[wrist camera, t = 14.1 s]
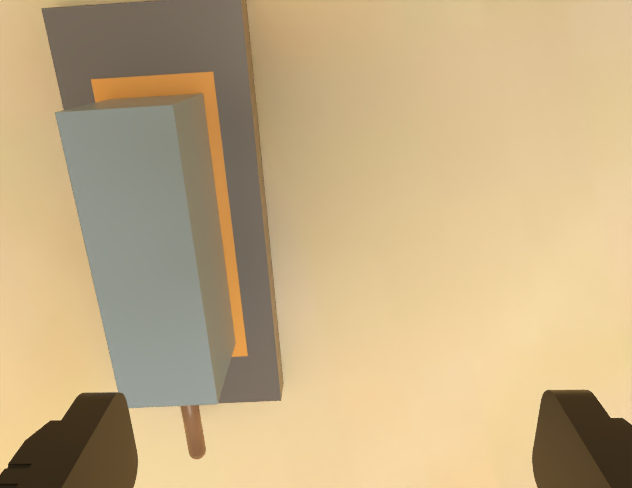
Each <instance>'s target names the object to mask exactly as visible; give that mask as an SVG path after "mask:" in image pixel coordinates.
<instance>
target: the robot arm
mask: <svg viewBox="0 0 632 488" xmlns="http://www.w3.org/2000/svg"><path fill="white" fill-rule="evenodd" d="M532 464H533V472H534V477H535V481H536V484H537V487H538V488H632V425H631V424H630V423H629V422H627V421H626V420H624V419H623V418H610V416H609V415H608V414H607V412H606V411H605V409H604V408H603V407H602V405H601V404H600V402H599V401H598V400H597V398H596V397H595V396H594V394H593V393H592V392H591V391H589V390H547V391H545V392H544V393H543V396H542V399H541V404H540V410H539V417H538V423H537V429H536V435H535V441H534V447H533V454H532ZM137 467H138V456H137V449H136V444H135V439H134V434H133V429H132V424H131V420H130V415H129V410H128V405H127V400H126V398H125V396H124V394H123V393H120V392H118V393H81V394H80V395H79V396H78V397H77V398H76V399H75V401H74V402H73V404H72V405H71V407H70V408H69V410H68V411H67V412H66V414H65V415H64V417H63V418H62V420H60V421H49V422H48V423H47V424H46V425H44V426H43V427H42V428H41V429H39V430H38V431H37V432H35V433H34V434H33V435H32V436H30V437H29V438H28V439H27V440H25V442H24V443H23V444H22V446H21V447H20V448H19V450H18V451H17V453H16V454H15V455H14V457H13V458H12V459H11V461H10V462H9V464H8V468H7V469H4V470H3V472H2V473H1V475H0V488H133V487H134V484H135V480H136V475H137Z"/></svg>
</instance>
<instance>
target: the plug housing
mask: <svg viewBox="0 0 632 488" xmlns="http://www.w3.org/2000/svg"><path fill="white" fill-rule="evenodd" d="M55 115H56V119H57V123H58V128H59V132H60V137H61V141H62V145H63V150H64V154H65V159H66V163H67V168H68V172H69V176H70V181H71V185H72V190H73V194H74V199H75V203H76V207H77V212H78V216H79V221H80V225H81V229H82V234H83V238H84V243H85V247H86V252H87V256H88V260H89V265H90V269H91V274H92V278H93V283H94V287H95V291H96V296H97V300H98V305H99V309H100V313H101V318H102V322H103V327H104V331H105V336H106V340H107V344H108V349H109V353H110V358H111V362H112V367H113V371H114V375H115V380H116V384H117V389H118V392H120V393H123V394H124V396H125V398H126V400H127V405H128V408H142V407H165V406H181V411H182V417H183V422H184V428H185V433H186V439H187V445H188V450H189V454H190V456H191V457H192V458H193V459H200V458H202V457H203V456H204V454H205V452H206V448H205V441H204V435H203V429H202V423H201V417H200V411H199V405H211V404H218V402H219V398H220V395H221V391H222V388H223V385H224V381H225V378H226V374H227V371H228V368H229V364H230V361H231V357H232V354H233V351H234V347H235V344H236V342H235V334H234V327H233V319H232V311H231V304H230V296H229V288H228V281H227V273H226V265H225V258H224V250H223V242H222V235H221V227H220V219H219V212H218V204H217V196H216V189H215V181H214V173H213V166H212V158H211V150H210V143H209V135H208V127H207V119H206V112H205V104H204V96H203V93H199V94H183V95H167V96H151V97H136V98H120V99H108V100H103V101H99V102H95V103H91V104H87V105H83V106H79V107H75V108H71V109H67V110H63V111H59V112H55Z"/></svg>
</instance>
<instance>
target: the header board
mask: <svg viewBox="0 0 632 488" xmlns="http://www.w3.org/2000/svg"><path fill="white" fill-rule="evenodd" d="M42 13H43V17H44V22H45V26H46V31H47V36H48V40H49V45H50V49H51V54H52V58H53V63H54V67H55V72H56V76H57V81H58V86H59V90H60V95H61V99H62V104H63V108H64V110H67V109H71V108H75V107H79V106H83V105H87V104H91V103H95V102H99V101H103V100H108V99H120V98H136V97H151V96H167V95H183V94H199V93H203V96H204V104H205V112H206V119H207V127H208V135H209V143H210V150H211V158H212V166H213V173H214V181H215V189H216V196H217V204H218V212H219V219H220V227H221V235H222V242H223V250H224V258H225V265H226V273H227V281H228V288H229V296H230V304H231V311H232V319H233V327H234V334H235V342H236V344H235V347H234V351H233V354H232V357H231V361H230V364H229V368H228V371H227V374H226V378H225V381H224V385H223V388H222V391H221V395H220V398H219V402H218V403H235V402H258V401H281V397H282V389H283V374H282V364H281V354H280V343H279V333H278V323H277V313H276V302H275V292H274V282H273V272H272V261H271V251H270V241H269V230H268V220H267V210H266V200H265V189H264V179H263V169H262V158H261V148H260V138H259V128H258V117H257V107H256V97H255V87H254V76H253V66H252V56H251V45H250V35H249V25H248V15H247V4H246V0H158V1H144V2H129V3H115V4H100V5H85V6H71V7H56V8H42Z"/></svg>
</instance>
